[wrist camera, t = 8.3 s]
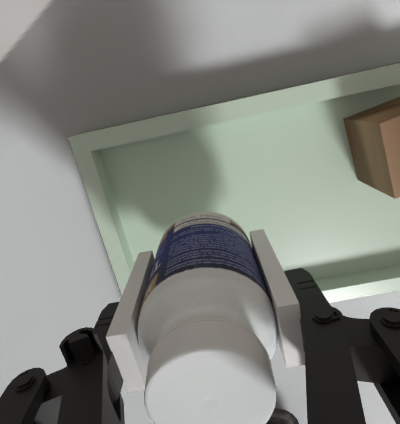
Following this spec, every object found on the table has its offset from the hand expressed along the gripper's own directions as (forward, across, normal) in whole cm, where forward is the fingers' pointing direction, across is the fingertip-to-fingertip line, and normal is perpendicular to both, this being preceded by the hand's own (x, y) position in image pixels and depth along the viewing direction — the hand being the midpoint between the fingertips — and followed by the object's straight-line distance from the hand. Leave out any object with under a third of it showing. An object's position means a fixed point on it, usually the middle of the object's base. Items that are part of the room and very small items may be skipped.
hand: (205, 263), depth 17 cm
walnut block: (+4, +12, +4) cm, 13 cm away
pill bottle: (+1, 0, 0) cm, 1 cm away
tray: (+5, +5, +1) cm, 7 cm away
